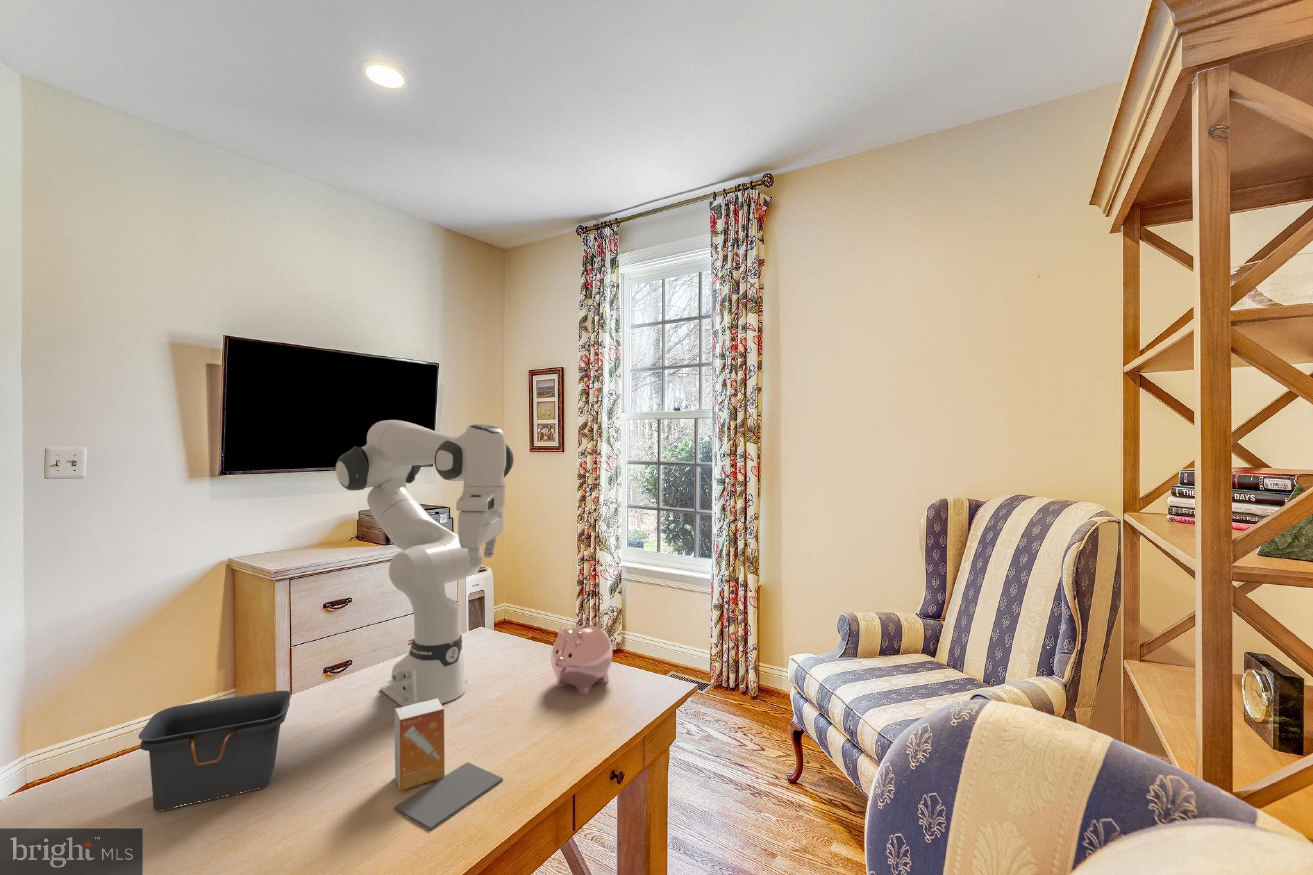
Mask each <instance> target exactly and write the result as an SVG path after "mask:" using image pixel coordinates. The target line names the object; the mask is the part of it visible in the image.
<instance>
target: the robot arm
mask: <svg viewBox="0 0 1313 875" xmlns="http://www.w3.org/2000/svg"><path fill="white" fill-rule="evenodd" d="M431 464H432V465H433V464H434V468H435V470H436V472H437V473H438V475H439V476H440V477H441V478H442V479H443V480H444V481H450V482H463V484H462V485H463V488H462V490H463V491H462V493H461V495H460V497H459V498H458V499H456V500H457V501H456V503H455V504H456V505H455V506H456V508H455V510H456V511H457V512H459V513H458V518H457V528H458V529H457V533H455V532H454V531H452V530H450V529H448V528H446V527H445V526H443V525H441V524H440V523H439V522H437V521H436V520H434V519H433V518H432V516H431V515H429V513H428V512H426V510H425V509H424V508H423V507H422V506H421V505H420V503H419V502H418V501H417V499H415V498H414V496H412V494H411V493H410V492H409V490H408V489H407V484H411V483H413V482H414V481H415V480H416V476H417V475H418V474H419V472H420V471H421V468H422V466H424V465H431ZM513 466H514V454H513V451H512V449H511V447H510V446H509V445H508V443H507V442H506V436H505V433H504V430H502V429H501V428H499V427H498V426H493V425H487V424H480V423H479V424H472V425H469V426H467V428H466V430H465V432H463V433H461V434H460V435H459V436H456V437H455V436H451V435H448V434H445V433H442V432H439V431H437V430H436V431H435V430H432V429H431V428H427V427H424V426H422V425H419V424H416V423H412V422H409V421H404V420H398V419H388V420H381V421H378V422H376V423H374V424H372V426H371V427H370V428H369V429H368V431H367V435H366V444H365V445H364V446H362V447H360V446H359V447H358V446H356V445H355V446H354V447H352V448H351V449H350V450H348V451H347V452H345V453H343V454H341V455H340V456H339V457H338V458H337V461H335V469H334V470H335V474H336V478H337V481H338V482H339V484H340V485H341V487H343V488H344V489H345V490H347V491H362V490H364V489H369V488H371V489H370V491H369V492H368V494H367V499H366V501H367V505H368V507H369V510H370V513H371V515H372V516H373V518H374V519H375V521H376V522H377V524H378V526H380V528H381V529H382V530H383V532H384V533H385V534H386V536H387V537H388V538H389V540H390V541H391V542H392V543H393V545H394V546H395V547H396V548H398V549H400V550H402V551H399V552H397V553H396V554H394V555H393V557H391V558H392V559H391V561H390V563H389V565H388V566H389V567H388V576H389V579H390V582H391V583H392V585H393V586H394V587H395V588H396V589H397V590H399V591H400V592H402V593H404V595H405V596H406V597H407V599H408V600H409V602H410V604H411V607H412V610H413V611H412V612H413V625H414V638H413V639H409V640H408V641H407V642H409V643H407V646H410V650H409V652H408V653H407V654H406V655H405V656H404V657H402V658H401V659H400V660H399V661H397V662H396V663H395V664H394V665H393V667H392V669H391V670H392V671H391V678H390V680H388V681H386V682H384V683H383V684H382V685H381V688H380V691H381V692H382V693H384V694H385V695H386V696H388V697H389V698H390V699H392V700H393V701H394V702H396V703H397V704H398V705H399V706H401V707H405V706H409V705H412V704H415V703H420V702H425V701H429V700H433V699H436V698H438V700H439V701H440V703H441V704H445V703H448V702H452V701H453V700H455V699H458V698H460V697H461V696H462V695H463V694H464V693H465V692H466V691H467V686H466V684H467V682H468V676H467V675H465V674H466V672H465V671H466V670H465V662H464V653H463V652H462V649H463V646H462V645H463V636H462V634H461V611H462V610H461V607H460V605H459V603H458V602H457V601H455V600H454V599H452V598H450V597H448V596H447V593H446V588H445V587H446V586H445V585H446V584H450V583H452V582H455V581H459V580H460V581H461V580H464V579H466V578H467V577H469V576H472V575H473V574H474V573H476V572H478V571H479V570H480V569H481V567H482V565H483V560H484V558H491V557H493V556H494V554H495V546H496V542H497V536H499V535H501V534H502V533H503V531H504V507H505V505H506V504H505V503H506V480H505V478H506V476H508V474H509V473H510V472H511V470H512V468H513ZM483 545H485V547H484V550H482V546H483Z"/></svg>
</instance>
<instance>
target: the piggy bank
mask: <svg viewBox="0 0 1313 875" xmlns="http://www.w3.org/2000/svg"><path fill="white" fill-rule="evenodd" d="M597 625H598V627H597V626H595V625H589V624H588V625H581V626H575V627H572V628H568V629H567V628H564V627H560V628H559V629H558V633H557V638H556V640H555V642H554V643H553V645H552V649H551V652H550V653H551V654H550V663H551V668H552V670H553V672H554V675H555V678H556V682H555V687H557V688H565V687H566V686H568V685H571V686H573V687H575V688H576V689H577V692H578V694H579V695H582V696H586V695H589V694H590V693H591V690H592V687H593V685H594V684H595V683H596V682H598V683H599V684H608V683H609V681H610V680H609V674H608V673H609V672H608V671H609V669H610V667H611V664H612V660H613V656H614V655H613V647H612V643H611V640H610V639H609V636H607V634H606V633H605V632H604V631H603V630H602V625H601V624H600V622H597Z"/></svg>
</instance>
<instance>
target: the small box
mask: <svg viewBox="0 0 1313 875" xmlns="http://www.w3.org/2000/svg"><path fill="white" fill-rule="evenodd" d="M445 754H446V753H445V708H444V706H443V705H442V703H440V701H439V700H438V698H436V699H433V700H429V701H425V702H420V703H415V704H412V705H409V706H405V707H402V706H401V707H397V708H395V709H394V772H395V774H394V776H395V780H396V782H397V785H398V789H399V791H404V790H406V789H411V788H413V787H416V786H419V785H422V784H425V783H429V782H431V781H435V780H436V781H437V780H439V779H440V778H443V777H444V776H445V775H446V773H445V767H446V765H445V762H446V761H445V760H446V759H445Z"/></svg>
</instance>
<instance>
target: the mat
mask: <svg viewBox="0 0 1313 875" xmlns="http://www.w3.org/2000/svg"><path fill="white" fill-rule="evenodd" d="M503 781H504V779H503V777H501V776H499V775H497V774H494V773H493V772H490V771H488V770H486V769H484V768H482V767H480V766H477V765H475V764H473V763H471V762H468V761H467V762H465V763H464V764H462V765H460V766H459V767H457V768H456V769H453V770H452V771H450V772H449V773H447V774H445V776H444V777H443V778H439V779H436V781H435V780H434V782H432V783H430V784H429V785H427V786H426V787H424V788H422V789H421V790H420V791H417V792H416V793H414V794H413V795H411V796H409V797H408V798H406V799H404V800H403V801H401V802H399V803H398V804H396V805H395V806H393V810H395V811H396V812H398V813H399V814H401V815H403V816H405V817H406V818H408V819H409V820H412V821H413V822H416V823H417V824H419V825H420V826H422V827H423V828H425V829H427V830H429V831H432V830H434V829H435V828H437V827H438V826H439V825H440V824H443V823H444V822H445V821H447V820H448V819H450V818H451V817H452V816H454V815H456V814H457V813H459V811H461V810H463V809H464V808H466V807H467V806H469V805H470V804H471V803H473V802H474V801H475V800H477V799H479V798H480V797H481V796H483V795H484V794H486V793H487V792H489V791H490V790H491V789H493V788H495V787H496V786H497V785H499V784H500V783H502V782H503Z"/></svg>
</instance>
